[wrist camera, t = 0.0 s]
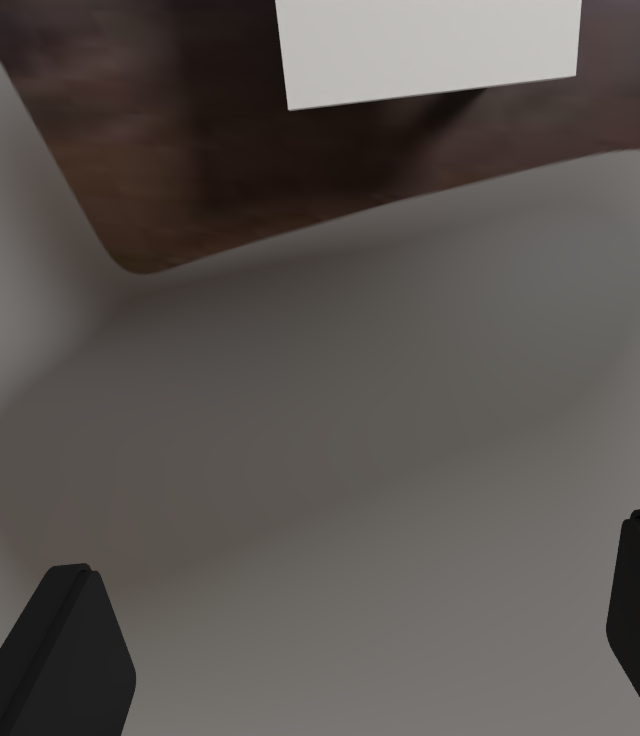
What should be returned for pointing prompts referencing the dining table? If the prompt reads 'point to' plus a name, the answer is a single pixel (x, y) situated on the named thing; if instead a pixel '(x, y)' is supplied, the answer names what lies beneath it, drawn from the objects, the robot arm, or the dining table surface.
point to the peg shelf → (420, 47)
